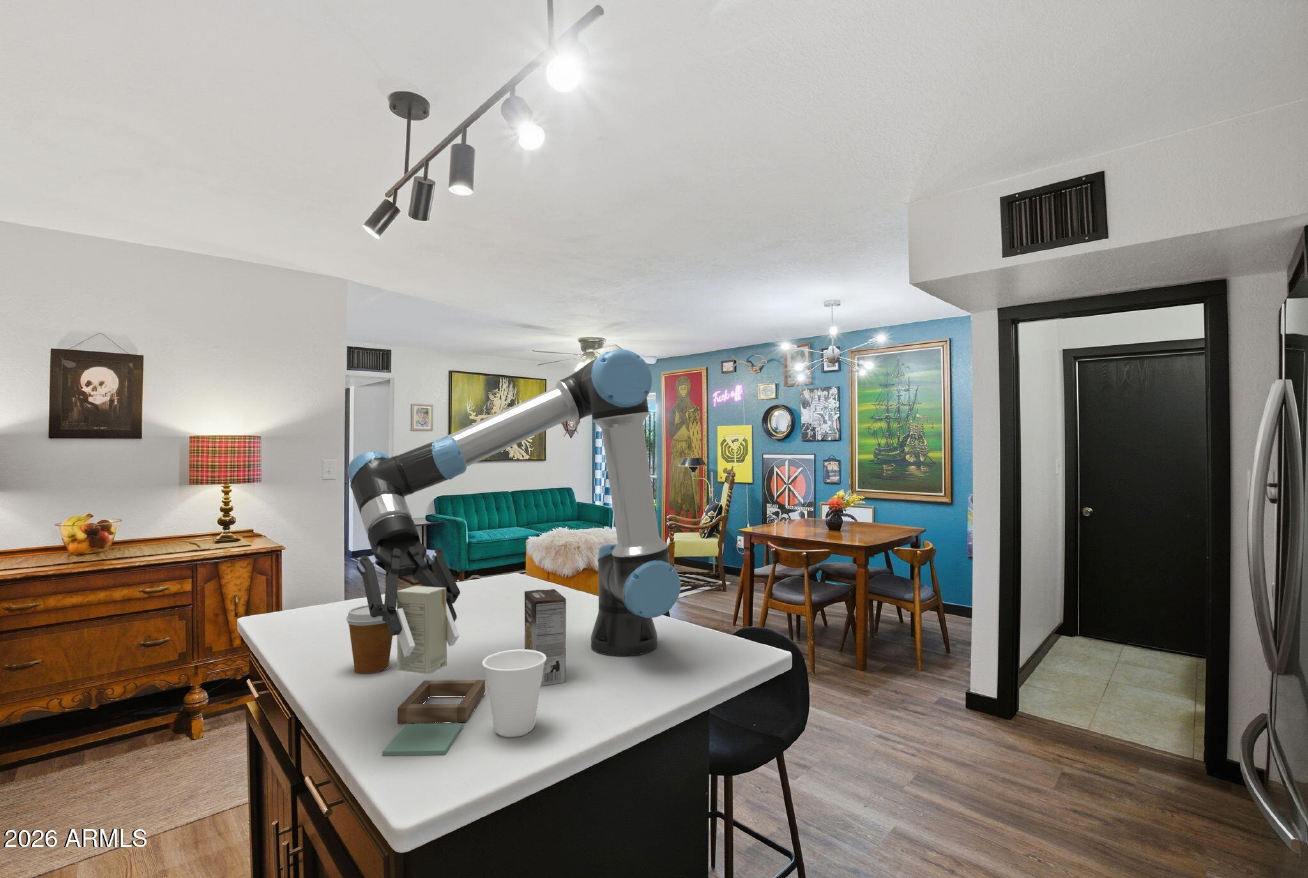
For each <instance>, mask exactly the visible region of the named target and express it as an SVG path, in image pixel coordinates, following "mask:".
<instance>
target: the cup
mask: <svg viewBox="0 0 1308 878" xmlns="http://www.w3.org/2000/svg"><path fill="white" fill-rule="evenodd" d="M545 661H546V656H545V654H543V653H541V652H539V651H535V650H526V649H525V648H524V649H523V648H522V649H521V648H520V649H509V650H508V649H507V650H503V651H499V652H495V653H492V654H489V655H488V656H486V657H485V658H484V659H483V660H482V666H483V668H484V674H485V682H486V685H487V686H486V687H487V691H488V696H489V703H490V704H489V705H490V710H491V715H492V716H491V718H492V723H493V729H494V731H495V733H496V734H497V735H498V736H499V735H500V736H501V737H504V738H516V737H521V736H525V735H527V734H529V733H530V732H531V731H532V730H533V729H534V728H535V724H536V720H537V719H536V718H537V711H538V706H539V699H540V692H541V687H542V686H541V682H542V675H543V669H544V663H545ZM528 732H529V733H528Z"/></svg>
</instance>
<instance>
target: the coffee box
mask: <svg viewBox="0 0 1308 878" xmlns="http://www.w3.org/2000/svg"><path fill="white" fill-rule="evenodd" d="M566 639H567V598H566V597H564V596H563V595H562V594H561V593H560V592H559V591H558V590H556V589H555V588H553V589H533V590H525V591H524V649H526V650H535V651H539V652H541V653H543V654H545V656H546V661H545V663H544V669H543V675H542V682H541V686H540V687H543V686H544V687H545V686H550V685H556V684H562V683H563V684H564V683H566V678H567V677H566V673H567V672H566V671H567V670H566V668H567V665H566V663H567V657H566V656H567V651H566V649H567V640H566Z"/></svg>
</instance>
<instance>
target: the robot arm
mask: <svg viewBox="0 0 1308 878" xmlns="http://www.w3.org/2000/svg"><path fill="white" fill-rule="evenodd" d="M652 385H653V376H652V371H651V370H650V367H649V365H648V363H647V362H646V361H645V359H644V358H642V357H641V356H640V355H639V354H637V353H636V352H634V351H632V350H628V349H620V348H619V349H613V350H609V351H606V352H604V353H602V354H601V355H599V356H598V357H596V358H595V359H593V360H591V361H589V362H588V363H586V364H585V365H583V366H582V367H581V368H580V369H578V370H577V371H575V372H573V373H572V374H570V375H568V376H567V377H565V378H563V379H560V380H558V381H556V383H555V387H554V388H551V389H549V390H547V391H545V392H542V393H540V394H538V395H536V396H533V397H530V398H529V399H526V400H524V401H522V402H520V403H518V404H516V405H513V406H511V407H509V408H507V409H504V410H502V411H500V412H497V413H496V414H493V415H491V416H488V417H486V418H484V419H482V420H479V421H477V422H475V423H473V424H470V425H468V426H466V427H464V428H461V429H460V430H458V431H455V432H453V433H450V434H447V435H446V436H445V437H442V438H439V439H435V440H433V441H431V442H428V443H425V444H423V445H421V446H418V447H415V448H413V449H410V450H408V451H405V452H403V453H400V454H398V455H394V456H390V457H389V456H388V454H386V453H385V452H382V451H378V450H375V451H365V452H362V453H360V454H358V455H356V456H355V457H354V458H353V459H352V460H351V461H350V462H349V464H348V467H347V474H348V478H349V484H350V485H349V486H350V489H351V491H352V494H353V498H354V500H355V503H356V505H357V506H356V507H357V508H358V511H359V515H360V518H361V521H362V523H363V527H364V530H365V533H366V534H367V539H368V542H369V545H370V549H371V551H372V553H373V554H372V555H370V556H368V555H365V554H364V555H361V556H360V558H359V560H358V563H357V566H356V570H357V572H358V573H359V575H360V576H361V577H362V580H363V581H362V582H363V586H364V592H365V596H366V600H367V602H366V603H367V605H368V606H369V611H370V615H371V617H373V618H376V617H378V616H382V620H383V621H384V622H387V624H388V627H389V630H390V633H391V634H392V636H393V637H395V636H396V637H397V636H398V639H399V642H400V645H401V648H402V651H403V654H404V657H406V656H410V654H411V652H412V650H413V649H414V647H415V644H414V641H413V638H412V635H411V632H410V629H409V626H408V623H407V620H406V617H405V614H404V611H403V608H400V609H397V591H398V588H399V587H398V584H399V577H401V576H404V575H405V576H406V575H407V576H411V577H412V579H414V580H415V581H418V583H419V584H420V586H425V587H441V588H446V619H447V646H448V647H453V646H454V645H455V644H456V642H457V641H458V639H459V637H460V632H459V631H458V629H457V625H456V623H455V622H456V620H457V619H458V617H457V616H458V615H457V613H456V610H455V607H454V604H455V602H457V600H458V598H459V596H460V595H461V590H460V588H459V587H458V584H457V582H456V581H455V578H454V576H453V574H452V573H451V570H450V569H449V567H448V565H447V561H446V560H445V557H444V549H443V548H442V547H440V546H439V547H436V549H435V550H434V549H427V548H426V546H425V545H423V544H422V542H421V539H420V538H421V537H420V534H419V531H418V529H417V527H416V524H415V521H414V520H413V515H412V513H411V510H410V508H409V506H408V503H407V501H406V498H405V497H407V496H410V495H413V494H415V493H416V492H420V491H422V490H424V489H427V488H430V487H433V486H436V485H438V484H441V483H444V482H445V481H448V480H453V479H455V478H456V477H457V476H460V475H463V474H464V473H465V472H466V471H467V468H468V467H470V466H472V465H473V464H475V463H478V462H480V461H483V460H484V459H487V458H488V457H491V456H493V455H496V454H497V453H500V452H502V451H504V450H506V449H508V448H510V447H512V446H513V447H514V446H515V445H516V444H519V443H521V442H524V441H526V440H527V439H529V438H532V437H534V436H536V435H538V434H540V433H543V432H544V431H547V430H549V429H551V428H554V427H556V426H557V425H560V424H562V423H564V422H567V421H569V420H572V421H574V422H577V421H580V420H582V419H584V418H586V417H589V416H591V417H592V422H593V423H595V424H596V426H598V427H600V429H601V434H602V441H603V449H604V455H605V461H606V462H605V463H606V469H607V477H608V483H609V490H610V497H611V504H612V505H611V506H612V512H613V519H614V527H615V533H616V538H617V543H615V544H603V545H601V546H600V547H599V549H598V557H597V563H598V568H597V569H598V572H597V574H598V576H597V577H598V613H597V616H596V620H595V622H594V625H593V629H592V632H591V635H590V648H591V649H592V650H593V651H594V652H597V653H599V654H603V655H608V656H615V657H616V656H617V657H618V656H620V657H622V656H623V657H624V656H625V657H627V656H637V655H643V654H646V653H650V652H652V651H654V650H655V649H657V648H658V643H659V642H658V640H659V639H658V637H659V636H658V632H657V629H656V627H655V623H654V619H653V618H658V617H660V616H663V615H664V614H666V613H668V612H669V611H670V610H671V609H672V608H673V606H675V604H676V602H677V601H678V599H679V596H680V595H681V594H680V593H681V589H682V588H681V587H682V586H681V585H682V584H681V583H682V582H681V579H680V576H679V573H678V572H677V570H676V568H675V567H674V566H673V565H672V564H671V561H670V552H669V547H668V543H667V542H666V541H664V540H663V539H661V537H660V534H659V528H658V519H657V513H656V508H655V500H654V499H655V498H654V493H653V485H652V479H651V472H650V471H651V470H650V464H649V457H648V456H649V455H648V450H647V443H646V435H645V428H644V421H645V420H646V419H647V417H648V415H649V414H650V412H649V411H650V409H649V403H648V396H649V394H650V392H651V389H652ZM425 558H426V559H427V561H428V563H427V562H426V560H425ZM428 564H429V565H431V568H432V571H433V572H432V571H431V570H430V568H429V565H428ZM376 566H378V567H379V568H381V570H383V571H385V581H384V582H385V591H384V602H383V598H382V593H381V589H380V584H379V579H378V575H377V571H376Z"/></svg>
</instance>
